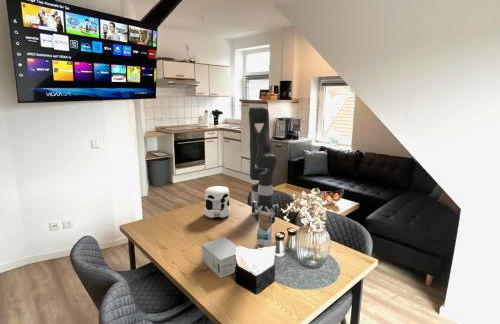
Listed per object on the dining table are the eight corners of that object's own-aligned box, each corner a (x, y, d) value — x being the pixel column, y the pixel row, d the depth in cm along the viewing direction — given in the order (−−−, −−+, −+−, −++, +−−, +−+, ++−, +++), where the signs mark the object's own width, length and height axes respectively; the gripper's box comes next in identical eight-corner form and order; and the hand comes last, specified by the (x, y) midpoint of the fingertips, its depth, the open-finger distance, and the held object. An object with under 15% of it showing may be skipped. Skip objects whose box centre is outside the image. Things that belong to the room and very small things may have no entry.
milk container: (220, 208, 205) (219, 184, 200) (236, 216, 192) (235, 190, 188) (199, 215, 193) (198, 189, 189) (214, 223, 181) (213, 196, 177)
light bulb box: (269, 250, 150) (269, 231, 148) (256, 249, 152) (256, 230, 149) (271, 240, 160) (272, 222, 158) (259, 239, 162) (260, 221, 159)
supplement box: (201, 261, 140) (201, 244, 138) (224, 252, 148) (224, 236, 146) (220, 278, 128) (220, 259, 125) (244, 268, 135) (244, 250, 133)
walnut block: (262, 223, 157) (262, 211, 155) (271, 225, 155) (271, 213, 153) (258, 227, 152) (259, 215, 151) (267, 229, 150) (268, 216, 149)
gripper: (281, 192, 150) (280, 221, 153) (255, 188, 155) (255, 216, 159) (276, 196, 143) (275, 227, 147) (249, 192, 149) (249, 222, 152)
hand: (264, 221), depth 153 cm, fingers open, 8 cm apart
